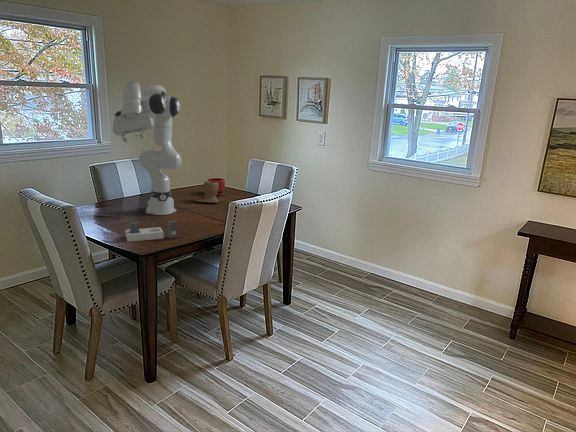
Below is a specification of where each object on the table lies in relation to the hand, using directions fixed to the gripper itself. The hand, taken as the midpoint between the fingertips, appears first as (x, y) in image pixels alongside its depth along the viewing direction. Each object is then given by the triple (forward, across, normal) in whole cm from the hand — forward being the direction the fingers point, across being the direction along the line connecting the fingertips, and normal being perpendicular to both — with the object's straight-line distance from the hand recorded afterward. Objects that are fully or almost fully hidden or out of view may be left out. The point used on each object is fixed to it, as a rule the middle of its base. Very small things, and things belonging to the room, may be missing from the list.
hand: (133, 139), depth 207 cm
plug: (+42, -1, -35) cm, 55 cm away
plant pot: (-6, +6, -126) cm, 126 cm away
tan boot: (+5, +4, -105) cm, 105 cm away
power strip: (+39, +15, -33) cm, 53 cm away
